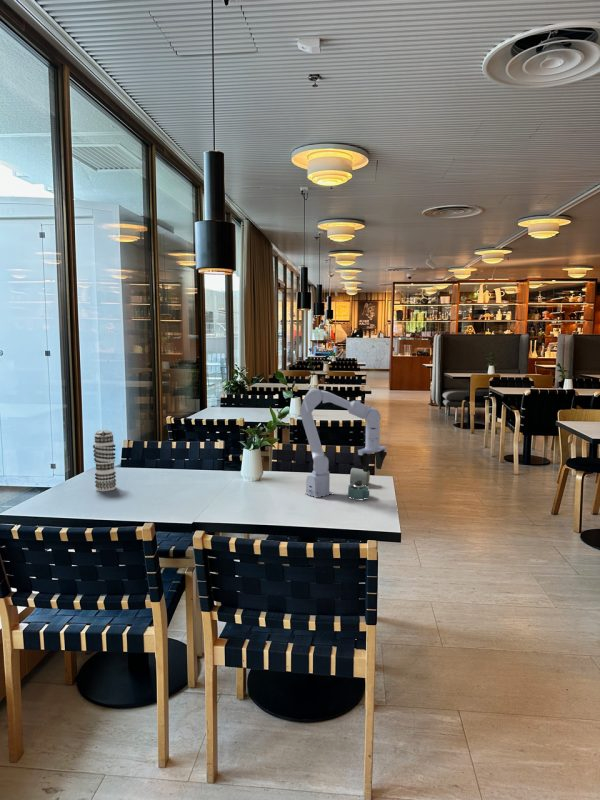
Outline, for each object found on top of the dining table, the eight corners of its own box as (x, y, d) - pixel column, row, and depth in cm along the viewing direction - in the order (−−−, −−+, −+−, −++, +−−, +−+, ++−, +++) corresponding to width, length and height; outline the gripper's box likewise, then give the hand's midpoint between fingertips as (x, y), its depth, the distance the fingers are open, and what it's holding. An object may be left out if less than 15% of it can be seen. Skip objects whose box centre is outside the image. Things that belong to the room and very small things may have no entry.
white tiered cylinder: (102, 492, 233) (100, 433, 230) (90, 489, 238) (87, 431, 236) (121, 488, 240) (119, 430, 237) (108, 484, 246) (106, 428, 243)
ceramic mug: (368, 488, 241) (368, 470, 240) (349, 487, 243) (349, 469, 242) (370, 482, 251) (370, 465, 251) (352, 481, 253) (352, 464, 252)
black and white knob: (358, 498, 223) (358, 482, 222) (348, 495, 227) (348, 480, 227) (367, 495, 226) (368, 480, 226) (358, 492, 231) (358, 478, 230)
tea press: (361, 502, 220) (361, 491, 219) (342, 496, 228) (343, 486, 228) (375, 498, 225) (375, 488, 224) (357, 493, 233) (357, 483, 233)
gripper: (366, 441, 220) (366, 474, 222) (392, 437, 229) (391, 469, 230) (354, 438, 226) (354, 471, 227) (379, 434, 235) (379, 466, 236)
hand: (372, 470), depth 229 cm, fingers open, 7 cm apart
